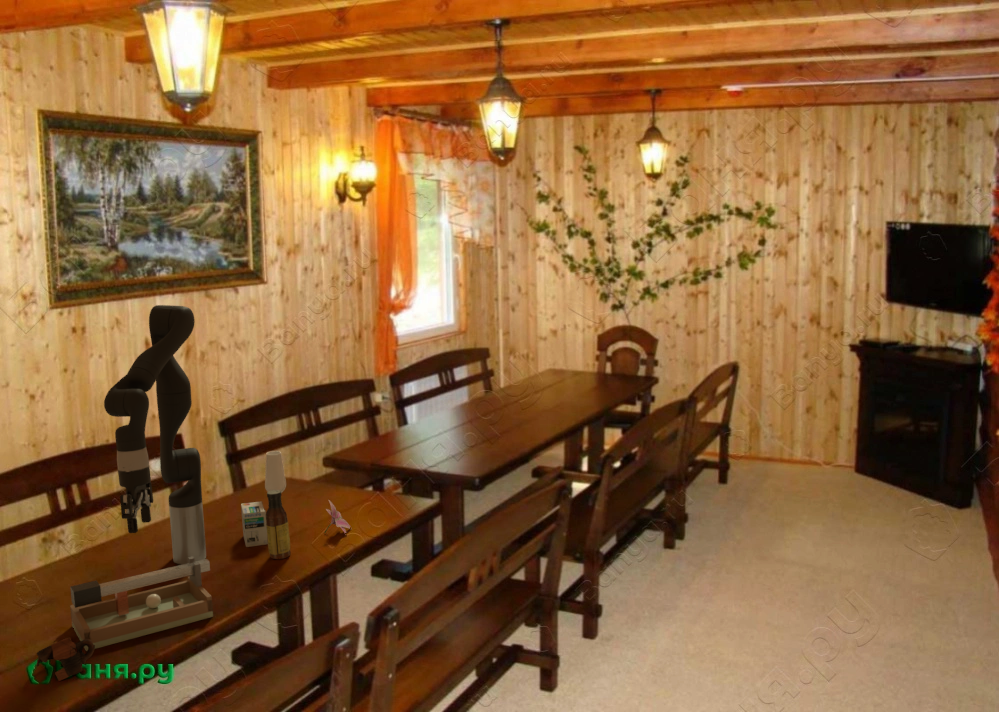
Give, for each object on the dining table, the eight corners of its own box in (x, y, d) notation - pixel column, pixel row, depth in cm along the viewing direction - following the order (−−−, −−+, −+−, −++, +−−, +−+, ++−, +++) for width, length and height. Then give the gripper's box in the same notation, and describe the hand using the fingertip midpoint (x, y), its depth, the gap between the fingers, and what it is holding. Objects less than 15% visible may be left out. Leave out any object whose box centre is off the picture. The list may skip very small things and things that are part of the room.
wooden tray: (72, 626, 229) (67, 582, 227) (193, 595, 246) (190, 554, 244) (86, 651, 216) (81, 605, 214) (213, 616, 233) (210, 573, 231)
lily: (332, 546, 282) (347, 518, 282) (304, 526, 286) (318, 499, 286) (351, 544, 293) (365, 518, 293) (323, 525, 297) (337, 499, 297)
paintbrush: (73, 621, 226) (70, 586, 224) (207, 587, 245) (205, 555, 243) (77, 627, 223) (73, 592, 221) (212, 593, 241) (210, 559, 240)
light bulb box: (268, 544, 281) (266, 511, 279) (245, 547, 279) (243, 513, 277) (264, 533, 291) (262, 500, 289) (242, 536, 289) (240, 503, 287)
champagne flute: (266, 529, 294) (262, 456, 290) (267, 521, 301) (263, 450, 297) (288, 527, 296) (284, 455, 292) (288, 520, 302) (284, 449, 298)
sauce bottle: (292, 551, 275) (289, 488, 272) (288, 560, 269) (284, 494, 265) (270, 552, 275) (266, 488, 271) (266, 560, 269) (262, 495, 265)
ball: (144, 607, 235) (143, 593, 235) (159, 603, 237) (158, 590, 237) (148, 612, 232) (147, 598, 232) (163, 608, 234) (162, 595, 234)
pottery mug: (45, 689, 200) (30, 654, 201) (48, 688, 209) (34, 654, 210) (101, 661, 206) (86, 627, 207) (102, 661, 214) (88, 629, 215)
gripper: (130, 459, 242) (136, 519, 244) (106, 473, 228) (113, 537, 230) (158, 458, 242) (164, 518, 244) (136, 472, 228) (143, 535, 230)
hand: (140, 527), depth 237 cm, fingers open, 8 cm apart
